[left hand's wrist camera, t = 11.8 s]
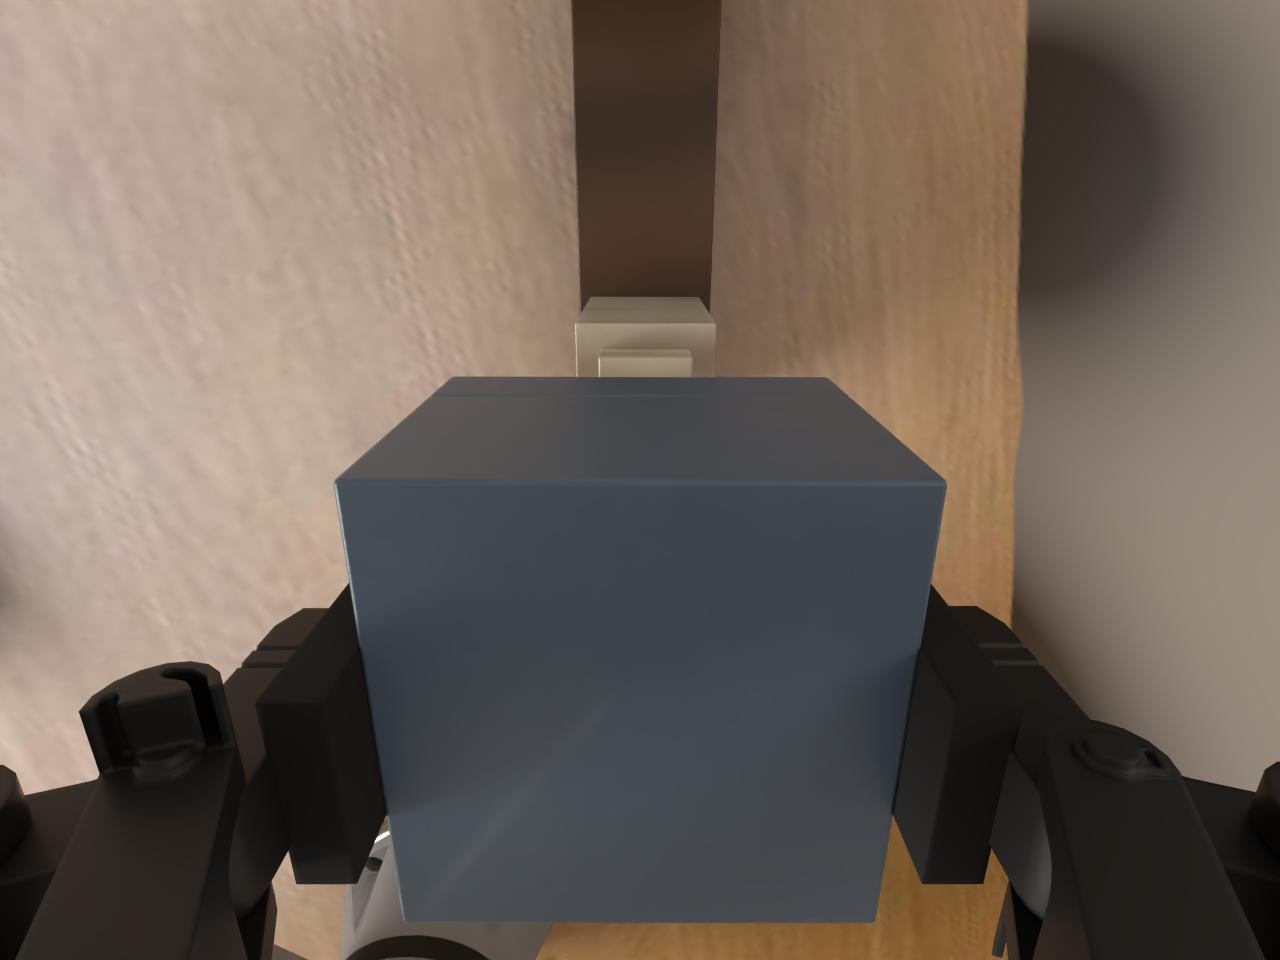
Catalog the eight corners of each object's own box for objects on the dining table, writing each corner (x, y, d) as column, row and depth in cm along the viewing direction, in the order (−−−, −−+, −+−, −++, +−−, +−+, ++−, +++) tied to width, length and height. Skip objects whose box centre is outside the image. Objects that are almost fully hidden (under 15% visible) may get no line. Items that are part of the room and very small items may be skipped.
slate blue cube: (798, 690, 16) (876, 926, 10) (479, 690, 16) (401, 925, 10) (828, 376, 13) (951, 480, 8) (450, 375, 13) (329, 480, 8)
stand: (696, 401, 40) (726, 509, 26) (591, 401, 40) (562, 509, 26) (715, -176, 31) (777, -510, 17) (578, -177, 31) (522, -511, 17)
